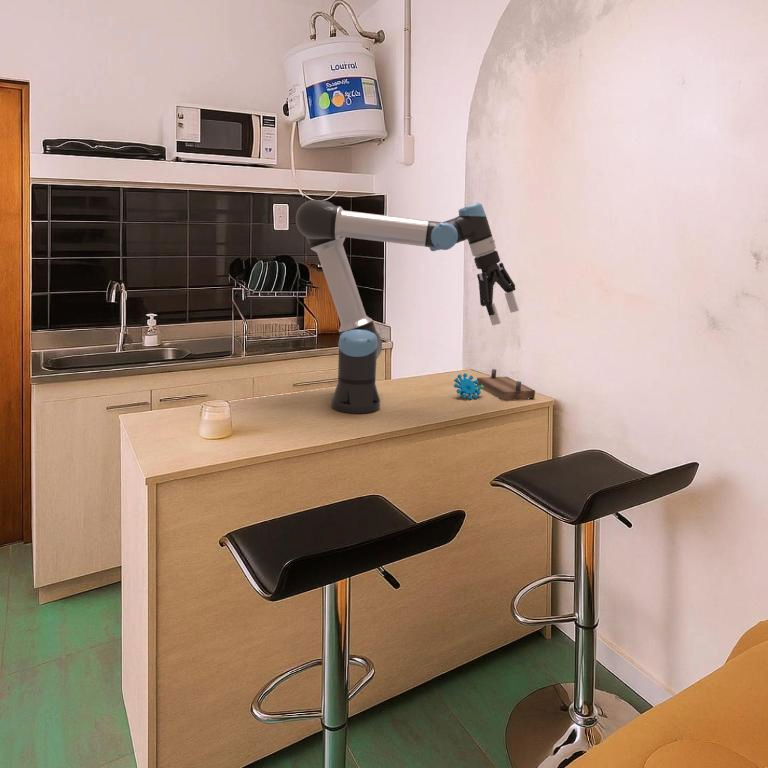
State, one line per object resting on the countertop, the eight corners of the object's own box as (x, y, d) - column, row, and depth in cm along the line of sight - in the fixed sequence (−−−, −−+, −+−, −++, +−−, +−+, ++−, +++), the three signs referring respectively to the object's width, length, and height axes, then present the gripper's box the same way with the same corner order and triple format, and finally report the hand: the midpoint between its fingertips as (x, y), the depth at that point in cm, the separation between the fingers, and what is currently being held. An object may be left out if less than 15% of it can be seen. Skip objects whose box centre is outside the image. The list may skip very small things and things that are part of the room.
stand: (502, 400, 225) (504, 383, 224) (476, 385, 244) (477, 369, 242) (534, 399, 229) (536, 382, 228) (506, 384, 247) (507, 368, 246)
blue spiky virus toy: (458, 396, 221) (453, 370, 226) (450, 405, 226) (445, 379, 231) (487, 399, 225) (481, 374, 230) (479, 407, 230) (473, 383, 235)
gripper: (477, 259, 197) (499, 327, 201) (512, 241, 215) (532, 304, 220) (455, 266, 202) (477, 332, 206) (492, 248, 220) (511, 308, 224)
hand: (505, 317), depth 213 cm, fingers open, 13 cm apart
